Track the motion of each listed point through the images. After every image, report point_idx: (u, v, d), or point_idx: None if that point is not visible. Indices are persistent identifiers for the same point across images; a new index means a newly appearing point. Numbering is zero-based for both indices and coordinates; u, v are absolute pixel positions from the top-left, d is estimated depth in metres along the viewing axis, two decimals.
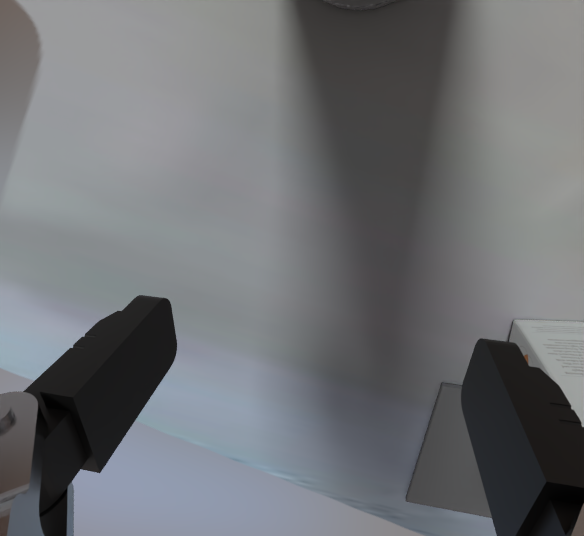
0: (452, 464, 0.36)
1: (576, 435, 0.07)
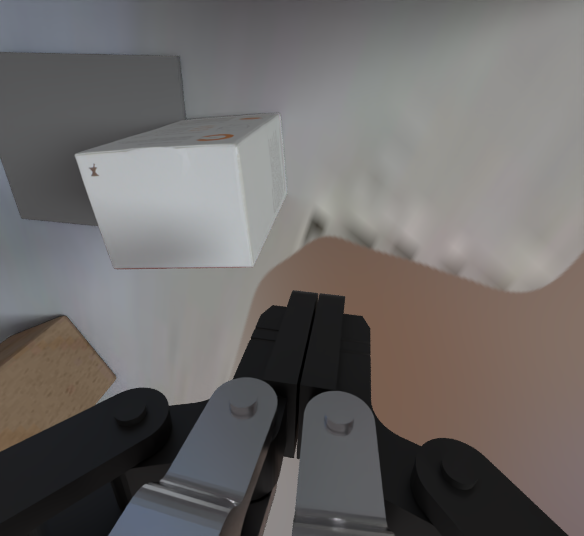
0: (61, 98, 0.30)
1: (360, 361, 0.08)
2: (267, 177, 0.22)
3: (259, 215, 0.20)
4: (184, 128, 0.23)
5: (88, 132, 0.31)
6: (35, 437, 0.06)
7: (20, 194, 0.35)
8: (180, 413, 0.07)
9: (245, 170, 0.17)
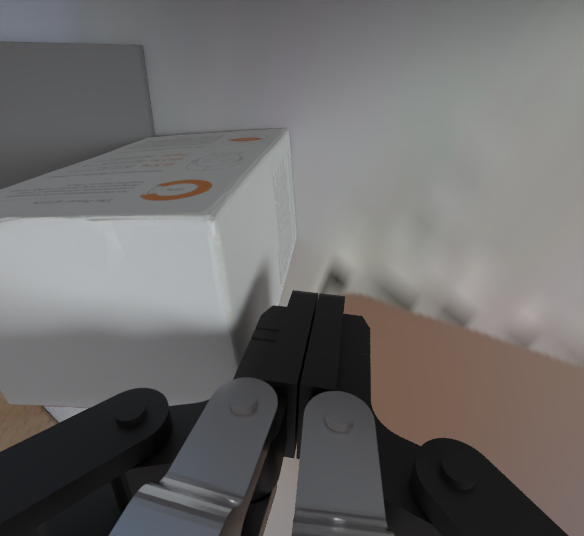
0: None
1: (360, 361, 0.08)
2: (271, 238, 0.14)
3: (259, 313, 0.12)
4: (139, 158, 0.14)
5: (21, 151, 0.22)
6: (35, 437, 0.06)
7: None
8: (180, 413, 0.07)
9: (233, 257, 0.09)
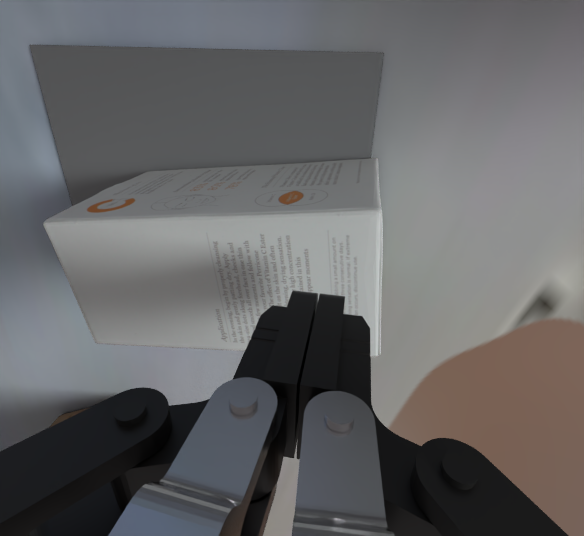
0: (176, 116, 0.20)
1: (360, 361, 0.08)
2: (186, 287, 0.15)
3: (126, 311, 0.16)
4: (238, 177, 0.17)
5: (211, 166, 0.20)
6: (35, 437, 0.06)
7: None
8: (180, 413, 0.07)
9: (68, 252, 0.15)
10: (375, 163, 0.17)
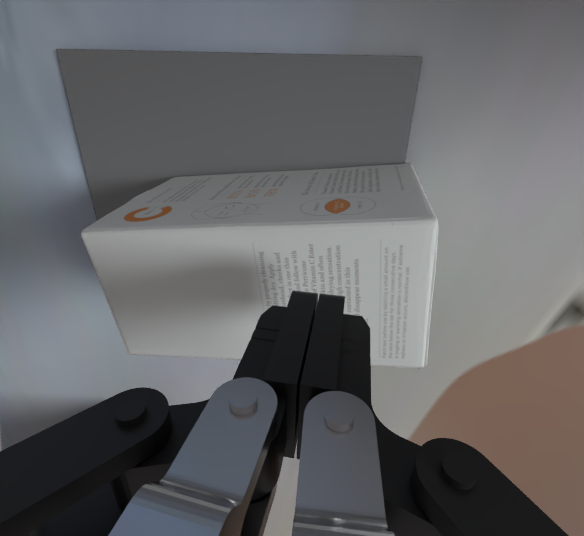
0: (205, 121, 0.19)
1: (360, 361, 0.08)
2: (227, 297, 0.14)
3: (163, 322, 0.15)
4: (273, 183, 0.17)
5: (239, 172, 0.20)
6: (35, 437, 0.06)
7: None
8: (180, 413, 0.07)
9: (105, 262, 0.14)
10: (412, 169, 0.17)
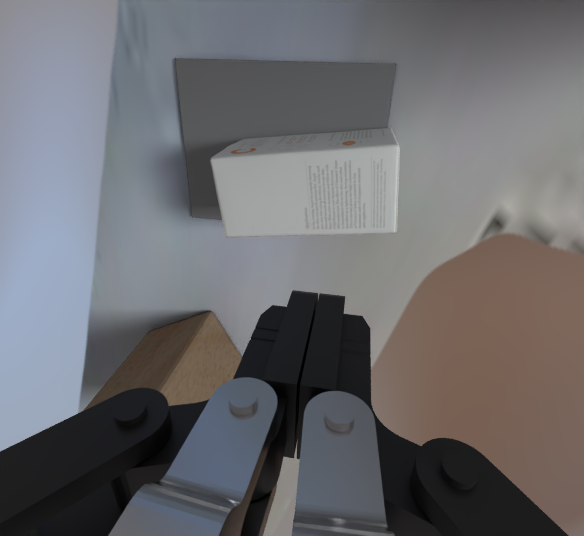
0: (265, 103, 0.31)
1: (360, 361, 0.08)
2: (289, 194, 0.26)
3: (250, 213, 0.27)
4: (310, 138, 0.29)
5: (285, 135, 0.32)
6: (35, 437, 0.06)
7: (197, 194, 0.36)
8: (180, 413, 0.07)
9: (222, 176, 0.26)
10: (391, 129, 0.29)
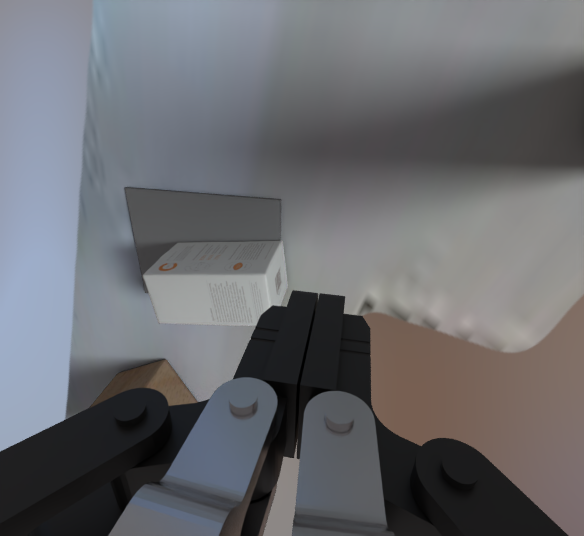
0: (191, 219, 0.42)
1: (360, 361, 0.08)
2: (198, 299, 0.37)
3: (173, 309, 0.39)
4: (220, 251, 0.40)
5: (208, 241, 0.43)
6: (35, 437, 0.06)
7: None
8: (180, 413, 0.07)
9: (151, 286, 0.38)
10: (278, 245, 0.40)
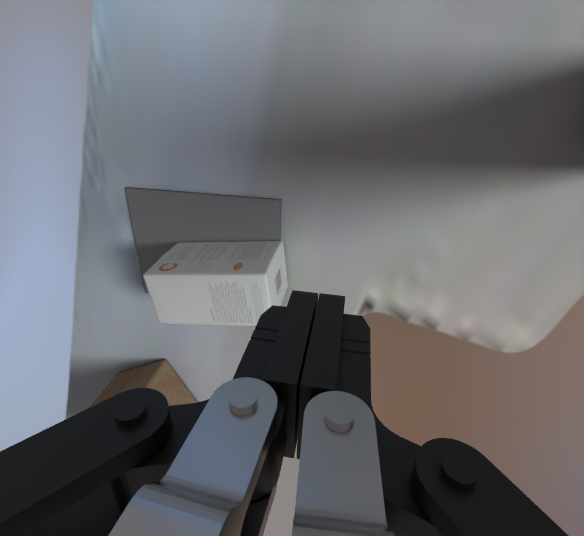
0: (191, 219, 0.42)
1: (360, 361, 0.08)
2: (198, 299, 0.37)
3: (174, 309, 0.39)
4: (220, 251, 0.40)
5: (208, 241, 0.43)
6: (35, 437, 0.06)
7: None
8: (180, 413, 0.07)
9: (152, 286, 0.38)
10: (278, 245, 0.40)
